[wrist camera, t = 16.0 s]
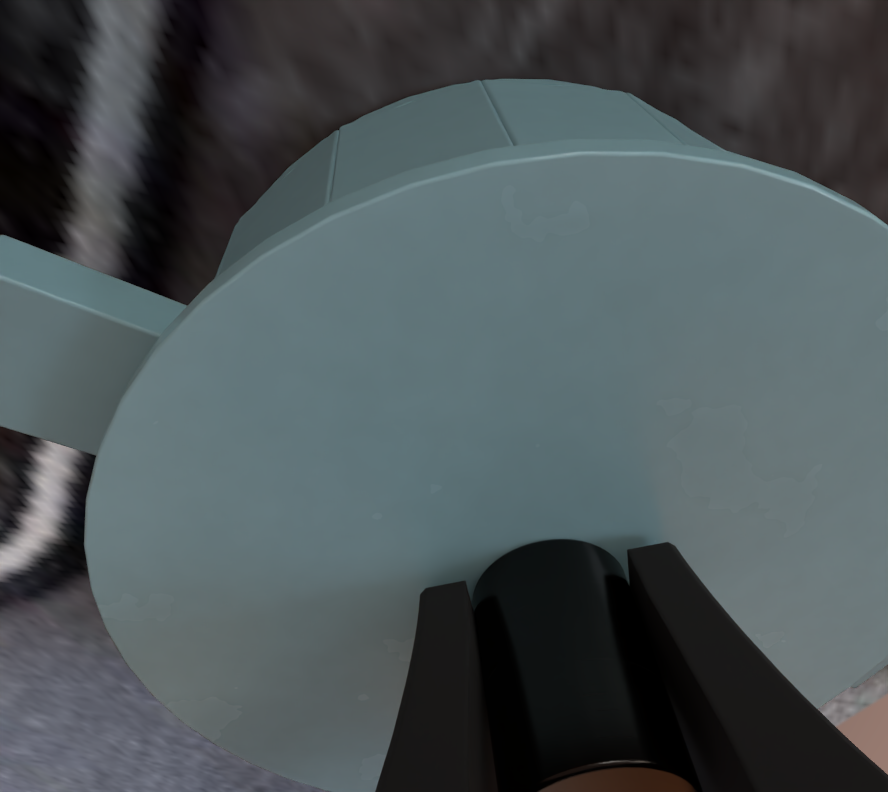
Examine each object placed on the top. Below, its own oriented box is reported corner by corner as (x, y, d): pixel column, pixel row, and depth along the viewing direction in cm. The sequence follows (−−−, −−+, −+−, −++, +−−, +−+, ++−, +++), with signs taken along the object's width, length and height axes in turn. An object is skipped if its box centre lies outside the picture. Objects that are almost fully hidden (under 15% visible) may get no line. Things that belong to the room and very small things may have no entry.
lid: (623, 800, 18) (687, 1039, 14) (23, 677, 13) (-108, 978, 10) (1141, 377, 11) (1505, 616, 8) (309, -137, 7) (239, -147, 3)
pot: (648, 642, 22) (716, 831, 18) (8, 452, 16) (-126, 664, 12) (993, 309, 16) (1223, 471, 12) (175, -182, 10) (28, -221, 6)
